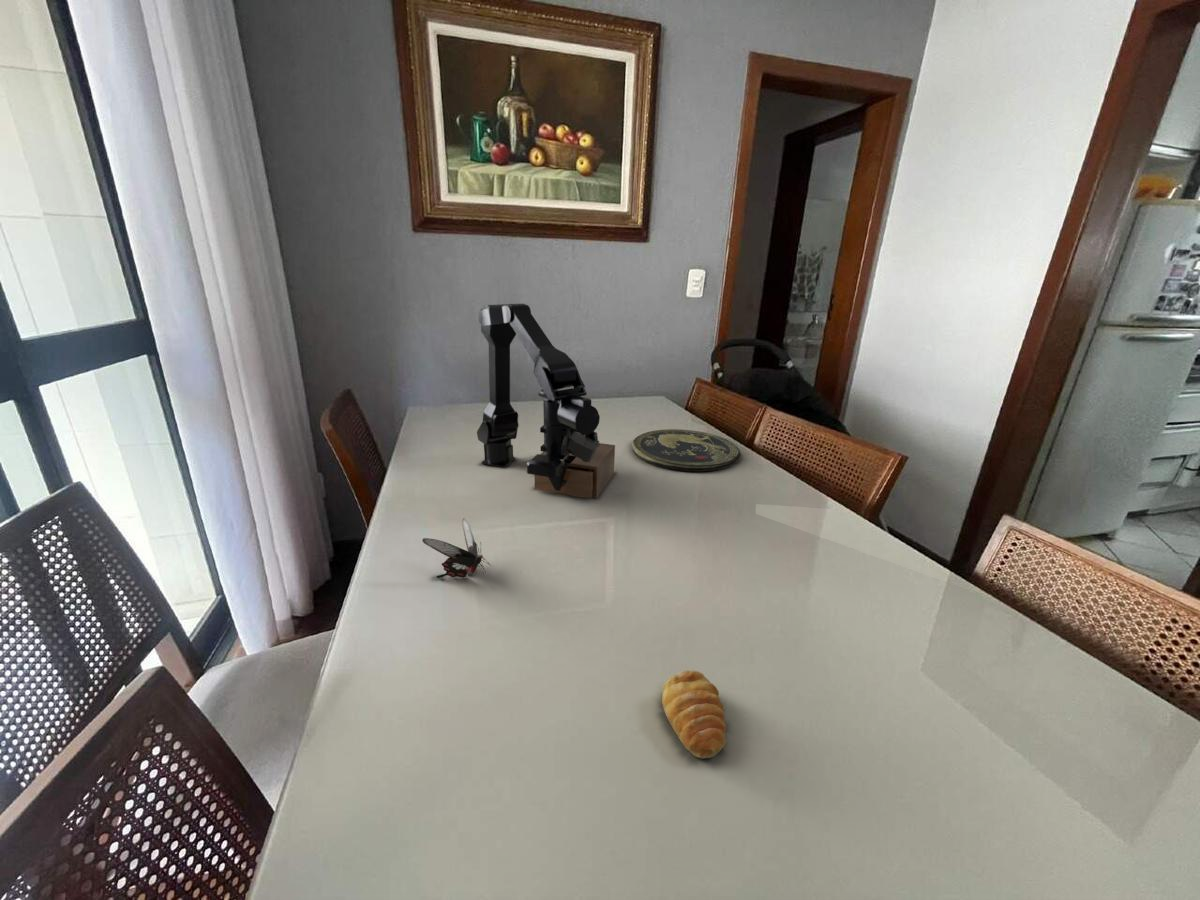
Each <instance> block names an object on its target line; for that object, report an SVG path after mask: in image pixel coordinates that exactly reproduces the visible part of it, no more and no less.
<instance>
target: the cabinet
mask: <svg viewBox="0 0 1200 900" xmlns="http://www.w3.org/2000/svg"><path fill="white" fill-rule="evenodd" d="M539 454H540V455H546V454H547V452H543V451H541V453H539ZM615 454H616V444H609V443H604V442H603V443H602V442H599V447H598V448H597V450H596V453H595V455H594V457H593V458H592V459H591V460H590V462H584V461H582V460H581V459H580V458H578V457H576V458H575V459H574V460H573V461H572V462H571V463H570V464H569V466H571V467H577V468H584V469H591V470H594V483H593V496H592V498H591V499H597V498H598V497H599V496H600V494H601V493H602V491H603V490H604V488H606V485H608V483H609V481H610V480H611V478H612V477H613V476H614V474H615V460H616V459H615V456H616V455H615ZM570 455H572V454H570ZM572 456H574V455H572Z"/></svg>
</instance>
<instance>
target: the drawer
mask: <svg viewBox="0 0 1200 900" xmlns="http://www.w3.org/2000/svg"><path fill="white" fill-rule="evenodd" d="M533 479H534V490H537V491H543V492H550V493H556V494H561V495H566V496H567V495H568V496H575V497H579V498H586V499H593V498H592V496H593V483H594V470H591V469H587V471H581V470H575V469H568V468H567V470H566V473H565V476H564V480H563V483H562V487H561V489H560V491H557V490H555V489H554V487H553V485H552V483H551V482H550V480H549V478H548V477H545V476H539V475H534V478H533Z"/></svg>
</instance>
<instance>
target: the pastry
mask: <svg viewBox="0 0 1200 900" xmlns="http://www.w3.org/2000/svg"><path fill="white" fill-rule="evenodd" d="M719 695H720V694H719V690H718V688H717V687H716V685H715V684H714V683H712V682H711V681H710V680H709V679H708V678H707V677H706V676H705V674H704V673H703V672H701V671H698V670H683V671H681V672H680V673H677V674H674V675H672V676H671V677H670V678H668V680H667V681H666V682H665V683H664V684H663V686H662V696H661V697H662V698H661V704H662V708H663V710H664V714H665V716H666V718H667V720H668V721H669V724H670V725H671V728H672V729H673V731H674V733H675V734H676V735H677V738H678V739H679V740H680V742H681V743H682V745H683V746H684V748H685V749H686V751H689V753H690V754H691V755H693V756H694V757H695V758H698V759H710V758H713V757H715V756H716V755H718V754H719V753H720V751H721V750H722V749H723V748H724V747H725V745H726V732H727V731H726V730H727V725H726V722H725V720H726V719H725V708H724V705H723V703H722V701H721V699H720V697H719Z"/></svg>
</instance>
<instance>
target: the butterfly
mask: <svg viewBox="0 0 1200 900" xmlns="http://www.w3.org/2000/svg"><path fill="white" fill-rule="evenodd" d="M461 523H462V530H463V536H464V540H465V544H466V549H467V550H465V549H463V548H461V547H459V546H456V545H454V544H452V543H449V542H447V541H443V540H439V539H435V538H429V537H428V538H425V537H423V538H422V540H421V541H422V543H423V544H424V545H426V546H427V547H429V548H431V549H433V550H435V551H436V552H438V553H440V554H442V555H444V556H446V557H447V559H445V561H444V562H442V563H441V566H442V567H443V571H444V572H445V573H442V574H439V575H436V576H435V577H436V578H437V579H442V578H444V577H447V576H448V577H451V578H457V577H458V578H466V577H467V576H468V575H469V574H470V573H471V574H472V575H473V574H475V573H476V571H477V569H478V568H480V570H481V572H482V573H483V574H485V573H484V572H486V570H485V566H484V564H483V563H485V564H487V565H490V566H491V563H489V562H487V560H486V558H485V557H484V555H483V554H481V553H482V549H480V548H479V546H478V544H477V542H476V540H475V538H474V535H473V531H472V529H471V526H470V525H469V523H468V521H467V519H466V518H465V517H463V518H462V520H461ZM479 544H480V545H482V542H481V541H479Z"/></svg>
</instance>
